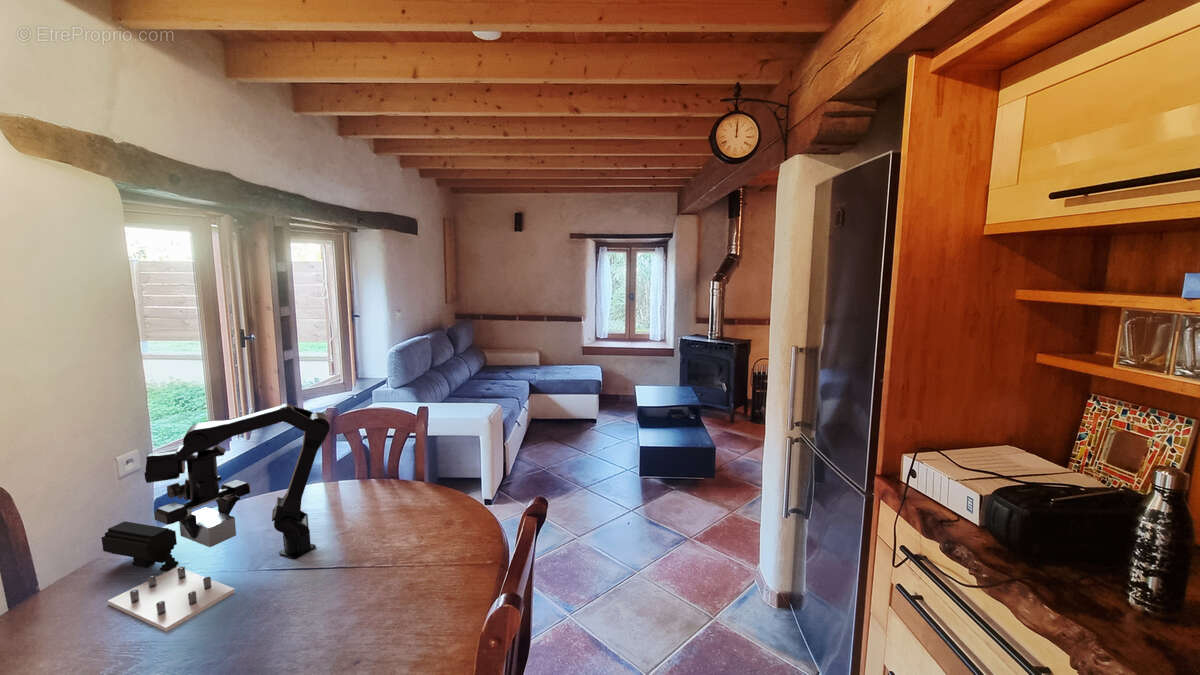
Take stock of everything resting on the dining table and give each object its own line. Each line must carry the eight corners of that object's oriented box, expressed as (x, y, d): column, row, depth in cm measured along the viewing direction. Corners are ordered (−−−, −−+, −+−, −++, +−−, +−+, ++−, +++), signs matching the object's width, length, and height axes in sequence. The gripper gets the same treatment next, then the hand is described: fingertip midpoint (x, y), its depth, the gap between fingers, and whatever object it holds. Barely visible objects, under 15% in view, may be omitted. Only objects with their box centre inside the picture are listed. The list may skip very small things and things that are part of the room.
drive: (236, 535, 124) (234, 517, 123) (210, 547, 119) (208, 528, 118) (207, 524, 129) (205, 507, 128) (180, 535, 123) (178, 517, 122)
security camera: (159, 577, 122) (155, 541, 121) (103, 567, 126) (98, 531, 125) (187, 561, 129) (184, 526, 128) (133, 552, 133) (129, 518, 131)
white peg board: (234, 592, 118) (233, 579, 117) (166, 631, 105) (164, 617, 104) (178, 570, 126) (176, 557, 125) (108, 604, 113) (106, 590, 112)
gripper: (223, 455, 133) (227, 508, 135) (138, 482, 116) (144, 542, 118) (249, 463, 129) (253, 517, 131) (165, 491, 112) (171, 554, 114)
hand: (208, 531), depth 123 cm, fingers closed on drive, 6 cm apart
